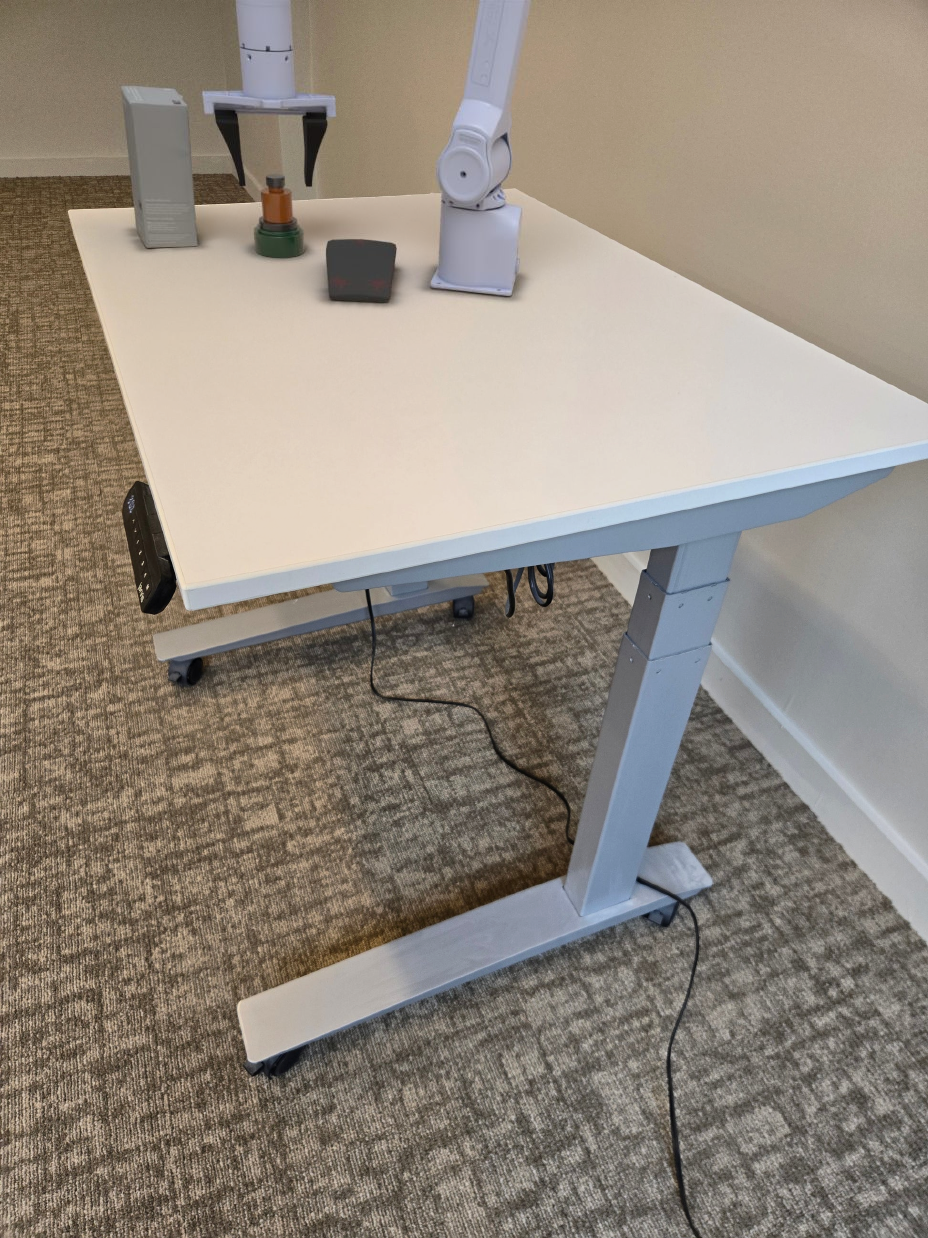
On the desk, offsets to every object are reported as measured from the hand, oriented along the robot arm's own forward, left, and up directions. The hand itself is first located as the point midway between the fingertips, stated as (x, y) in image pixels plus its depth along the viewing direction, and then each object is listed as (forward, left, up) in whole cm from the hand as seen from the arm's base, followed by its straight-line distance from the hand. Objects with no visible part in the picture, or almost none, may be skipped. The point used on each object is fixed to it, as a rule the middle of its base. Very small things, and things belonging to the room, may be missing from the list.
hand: (275, 184), depth 103 cm
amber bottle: (0, 0, -4) cm, 4 cm away
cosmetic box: (+14, 0, -8) cm, 16 cm away
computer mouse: (-12, +8, -8) cm, 16 cm away
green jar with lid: (0, 0, -8) cm, 8 cm away
